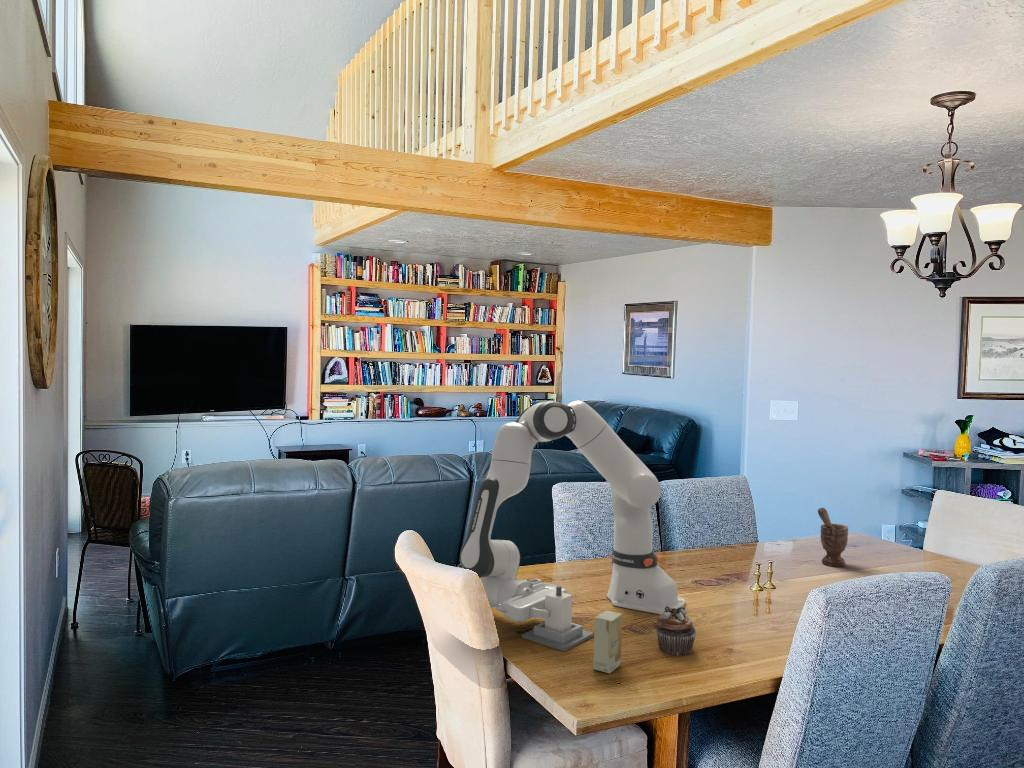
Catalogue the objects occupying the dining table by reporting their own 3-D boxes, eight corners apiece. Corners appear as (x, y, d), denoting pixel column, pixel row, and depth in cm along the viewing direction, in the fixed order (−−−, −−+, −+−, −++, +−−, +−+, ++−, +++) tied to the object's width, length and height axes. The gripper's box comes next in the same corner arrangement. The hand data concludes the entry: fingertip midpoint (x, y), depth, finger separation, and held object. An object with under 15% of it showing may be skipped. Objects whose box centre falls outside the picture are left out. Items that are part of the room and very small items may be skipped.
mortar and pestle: (838, 571, 253) (840, 511, 251) (812, 566, 258) (814, 507, 257) (850, 564, 261) (852, 506, 260) (824, 558, 267) (826, 502, 266)
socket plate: (593, 636, 195) (594, 625, 195) (564, 651, 185) (564, 640, 185) (552, 623, 203) (552, 612, 203) (522, 637, 193) (522, 626, 193)
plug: (571, 633, 194) (572, 587, 193) (560, 638, 191) (561, 591, 190) (555, 628, 197) (556, 582, 197) (544, 633, 194) (545, 587, 193)
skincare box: (609, 674, 173) (611, 621, 172) (592, 669, 175) (593, 617, 174) (621, 664, 178) (622, 613, 178) (604, 660, 181) (605, 609, 180)
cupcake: (658, 656, 183) (659, 615, 183) (653, 640, 193) (654, 601, 192) (699, 657, 183) (700, 616, 182) (691, 641, 192) (692, 602, 192)
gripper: (491, 595, 194) (535, 608, 185) (540, 576, 210) (582, 587, 201) (491, 620, 194) (534, 634, 185) (540, 599, 210) (582, 611, 201)
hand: (560, 609), depth 193 cm, fingers open, 8 cm apart
